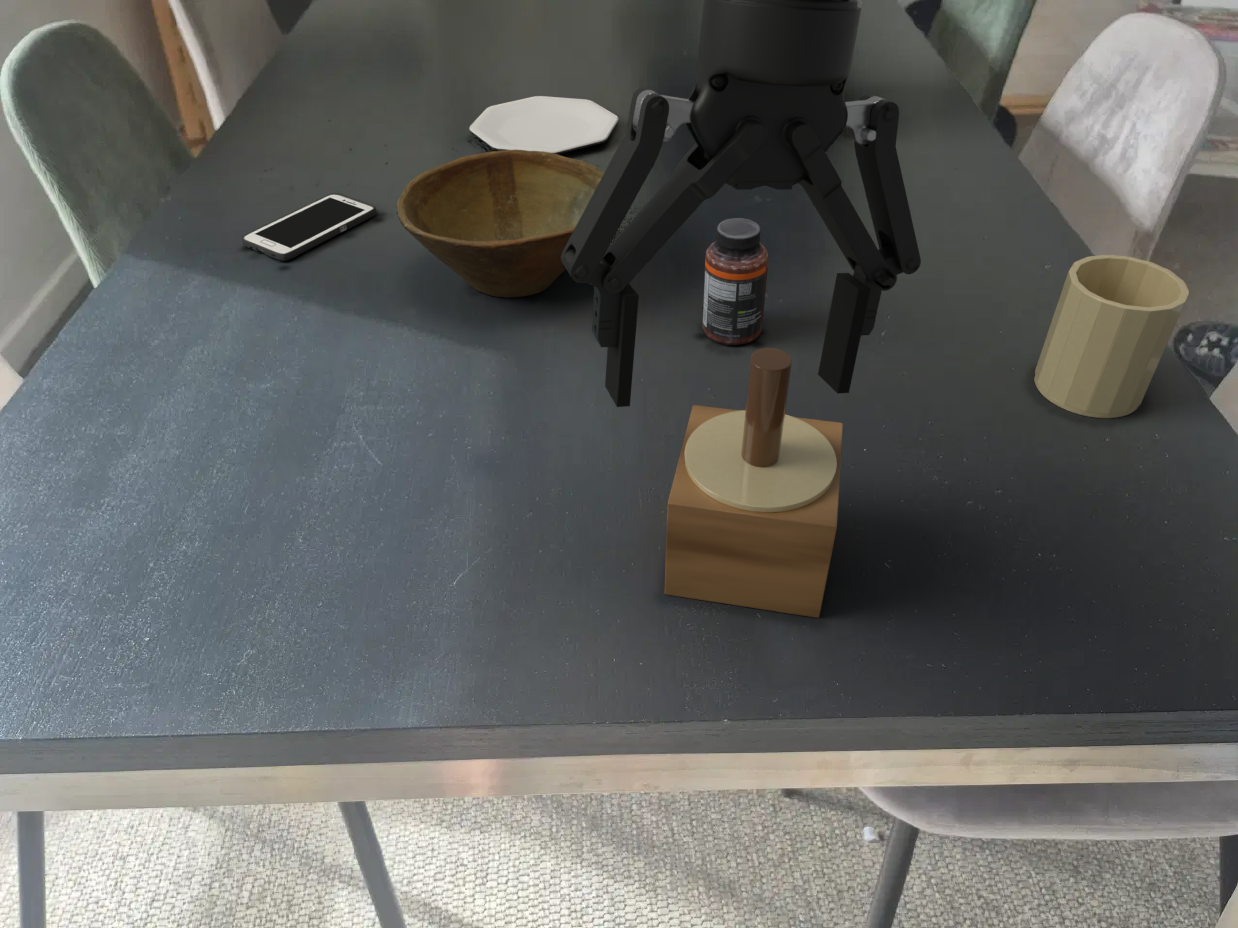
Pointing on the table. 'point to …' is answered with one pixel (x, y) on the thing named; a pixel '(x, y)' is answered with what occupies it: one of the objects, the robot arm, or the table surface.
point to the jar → (1108, 334)
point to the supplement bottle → (735, 283)
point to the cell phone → (308, 226)
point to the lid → (761, 447)
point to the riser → (750, 541)
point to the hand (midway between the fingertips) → (728, 390)
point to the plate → (544, 124)
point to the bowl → (500, 216)
